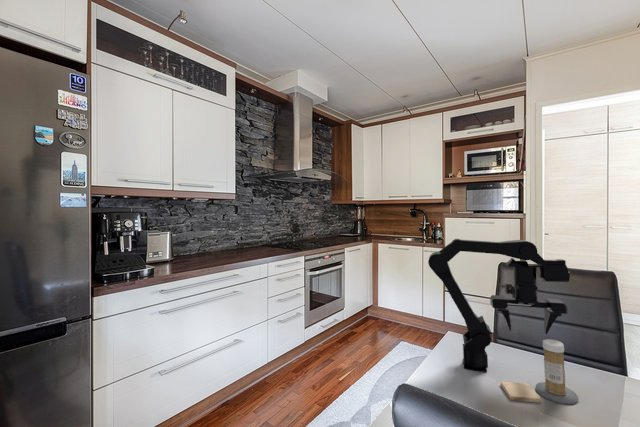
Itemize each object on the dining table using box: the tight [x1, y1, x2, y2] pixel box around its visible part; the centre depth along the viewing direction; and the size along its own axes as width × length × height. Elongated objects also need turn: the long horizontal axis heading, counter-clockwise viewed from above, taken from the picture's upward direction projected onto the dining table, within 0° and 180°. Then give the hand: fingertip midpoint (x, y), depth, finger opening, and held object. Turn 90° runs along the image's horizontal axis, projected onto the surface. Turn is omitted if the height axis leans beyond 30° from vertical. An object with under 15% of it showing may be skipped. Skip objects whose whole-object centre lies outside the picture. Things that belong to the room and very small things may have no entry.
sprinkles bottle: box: [542, 338, 566, 396], centre depth 79 cm, size 5×5×14 cm
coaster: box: [535, 381, 579, 405], centre depth 79 cm, size 9×9×1 cm
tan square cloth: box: [500, 381, 542, 404], centre depth 80 cm, size 7×7×1 cm
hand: (527, 331), depth 89 cm, fingers open, 9 cm apart
